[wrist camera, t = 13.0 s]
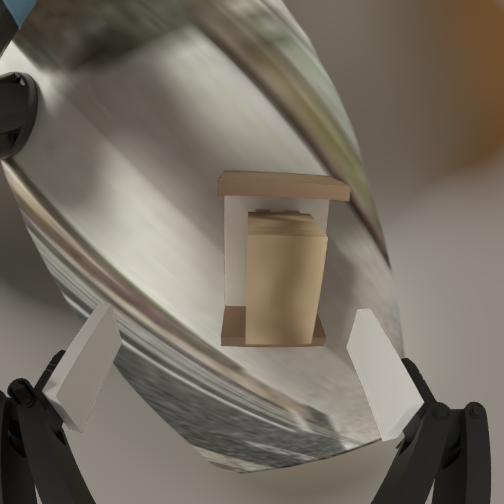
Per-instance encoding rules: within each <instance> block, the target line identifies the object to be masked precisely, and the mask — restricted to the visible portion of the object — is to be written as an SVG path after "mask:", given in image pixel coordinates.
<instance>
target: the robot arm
mask: <svg viewBox="0 0 504 504" xmlns="http://www.w3.org/2000/svg"><path fill="white" fill-rule="evenodd" d="M35 4H36V0H0V58H1V56H2V55H3V53H4V51H5V50H6V48H7V46H8V45H9V43H10V42H11V40H12V39H13V37H14V35H15V34H16V33H17V31H18V30H20V28H21V27H22V23H23V22H24V20H25V19H26V17H27V16H28V14H29V13H30V11H31V10H32V9H33V7H34V6H35ZM36 110H37V90H36V86H35V83H34V81H33V79H32V78H31V77H30V76H29V75H28V74H26V73H22V72H9V73H6V74H3V75H0V159H5V158H9V157H12V156H14V155H15V154H17V153H18V152H19V151H20V150H21V148H22V147H23V146H24V144H25V143H26V141H27V139H28V137H29V135H30V133H31V130H32V127H33V124H34V120H35V116H36ZM121 344H122V340H121V337H120V333H119V330H118V327H117V323H116V319H115V316H114V312H113V308H112V304H109V303H99V304H98V306H97V307H96V308H95V310H94V311H93V312H92V314H91V315H90V317H89V318H88V320H87V321H86V322H85V324H84V325H83V327H82V328H81V330H80V331H79V333H78V334H77V336H76V337H75V339H74V340H73V342H72V343H71V345H70V346H69V348H68V349H67V351H64V350H61V351H59V352H58V353H57V354H56V355H55V356H54V357H53V358H52V360H51V361H50V364H49V365H48V366H47V368H46V370H45V371H44V372H43V374H42V376H41V377H40V379H39V381H38V382H37V384H36V386H35V388H34V389H33V387H32V386H31V384H30V382H29V381H28V380H26V379H23V378H19V379H16V380H14V381H13V382H12V383H11V384H10V385H9V387H8V391H7V393H8V394H9V396H10V397H11V398H8V397H6V395H5V394H4V393H3V392H2V391H1V390H0V504H37V498H36V492H35V485H36V488H37V491H38V494H39V497H40V499H41V502H42V504H96V503H95V501H94V499H93V497H92V496H91V494H90V492H89V490H88V488H87V486H86V484H85V481H84V479H83V477H82V475H81V473H80V471H79V468H78V466H77V464H76V461H75V459H74V457H73V454H72V452H71V449H70V447H69V444H68V441H67V438H66V436H65V433H64V430H63V428H62V427H61V426H62V424H63V422H64V423H65V424H66V425H67V427H68V428H69V429H72V430H75V431H78V432H81V433H82V432H83V429H84V427H85V424H86V422H87V419H88V417H89V414H90V412H91V409H92V407H93V405H94V402H95V400H96V398H97V395H98V393H99V391H100V389H101V386H102V384H103V382H104V380H105V377H106V375H107V373H108V371H109V369H110V367H111V365H112V362H113V360H114V358H115V356H116V354H117V352H118V350H119V348H120V346H121ZM346 348H347V350H348V353H349V355H350V358H351V360H352V362H353V365H354V367H355V370H356V372H357V375H358V377H359V380H360V382H361V385H362V387H363V390H364V392H365V395H366V398H367V400H368V403H369V405H370V408H371V411H372V413H373V416H374V419H375V421H376V424H377V427H378V430H379V432H380V435H381V438H382V441H387V440H391V439H394V438H397V437H398V436H399V435H400V434H401V432H402V431H403V433H404V435H405V437H404V439H402V441H401V442H400V443H399V444H398V445H397V447H396V448H397V449H398V448H399V450H398V452H397V454H396V456H395V458H394V460H393V463H392V465H391V467H390V469H389V471H388V473H387V475H386V477H385V479H384V481H383V483H382V485H381V486H380V488H379V490H378V492H377V494H376V496H375V497H374V499H373V501H372V502H371V504H425V502H426V500H427V497H428V495H429V492H430V490H431V487H432V484H433V482H434V479H435V482H434V490H433V498H432V504H490V495H491V457H490V441H489V431H488V422H487V414H486V411H485V408H484V407H483V406H482V405H481V404H480V403H478V402H470V403H469V404H467V405H466V407H465V408H464V409H450V408H449V407H448V406H447V405H445V404H443V403H440V402H437V401H436V400H435V398H434V396H433V395H432V393H431V391H430V389H429V387H428V386H427V384H426V382H425V380H423V377H422V375H421V374H420V373H419V370H418V369H417V367H416V365H415V364H414V363H413V362H412V361H411V360H409V359H408V358H403V359H400V358H399V356H398V354H397V352H396V351H395V349H394V347H393V346H392V344H391V342H390V341H389V339H388V337H387V336H386V334H385V332H384V331H383V329H382V327H381V326H380V324H379V322H378V321H377V319H376V318H375V316H374V314H373V313H372V311H371V310H370V309H357V313H356V316H355V320H354V324H353V327H352V330H351V334H350V337H349V341H348V344H347V347H346ZM34 483H35V484H34Z"/></svg>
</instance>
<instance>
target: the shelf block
mask: <svg viewBox="0 0 504 504" xmlns="http://www.w3.org/2000/svg"><path fill="white" fill-rule="evenodd" d="M327 242H328V236H327V235H326V234H325V232H324V231H323V230H322V229H321V227H320V226H319V225H318V223H317V222H316V221H315V220H314V218H313V217H312V216H311V214H304V213H278V212H248V238H247V285H246V339H245V344H311V341H312V336H313V331H314V326H315V320H316V315H317V309H318V303H319V297H320V291H321V285H322V278H323V271H324V264H325V257H326V250H327Z"/></svg>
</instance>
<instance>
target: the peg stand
mask: <svg viewBox="0 0 504 504" xmlns="http://www.w3.org/2000/svg"><path fill="white" fill-rule="evenodd" d="M350 188H351V186H349V185H347V184H345V183H342V182H340V181H338V180H336V179H334V178H332V177H330V176H321V175H308V174H292V173H272V172H240V171H225V172H224V173H223V175H222V176H221V177H220V178H219V179H218V195H224V264H225V311H224V318H223V326H222V333H221V346H238V347H306V346H324V343H325V339H326V336H325V333H324V330H323V327H322V324H321V321H320V319H319V316H318V313H317V315H316V320H315V326H314V331H313V336H312V341H311V344H245V339H246V285H247V238H248V212H278V213H304V214H311V216H312V217H313V218H314V220H315V221H316V222H317V223H318V225H319V226H320V227H321V229H322V230H323V231H324V232H325V234H326V229H327V220H328V210H329V200H341V201H349V198H350Z"/></svg>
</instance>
